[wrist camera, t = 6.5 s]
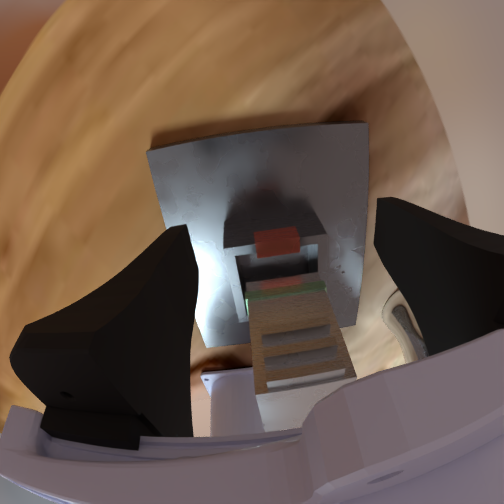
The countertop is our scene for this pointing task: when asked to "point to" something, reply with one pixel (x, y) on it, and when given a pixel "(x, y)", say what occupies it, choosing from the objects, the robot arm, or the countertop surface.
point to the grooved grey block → (294, 348)
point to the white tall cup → (404, 328)
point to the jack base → (268, 214)
